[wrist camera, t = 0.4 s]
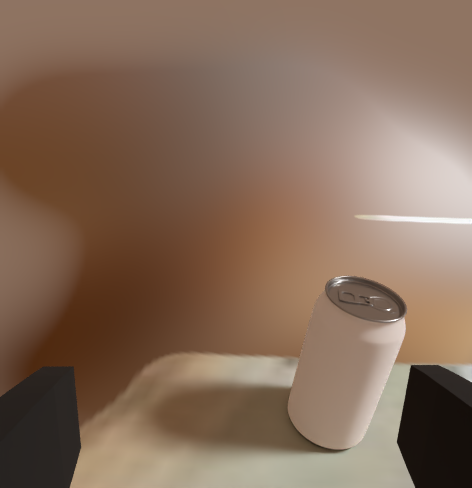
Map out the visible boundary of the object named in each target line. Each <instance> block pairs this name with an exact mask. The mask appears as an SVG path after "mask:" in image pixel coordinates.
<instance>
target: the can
mask: <svg viewBox="0 0 472 488" xmlns="http://www.w3.org/2000/svg"><path fill="white" fill-rule="evenodd" d="M406 313H407V307H406V304H405V302H404V301H403V299H402V298H401V297H400V296H399V295H398V294H396V293H395V292H394V291H392V290H391V289H390V288H388V287H386V286H384V285H382V284H380V283H378V282H375V281H372V280H369V279H366V278H361V277H356V276H339V277H335V278H333V279H331V280H329V281H328V282H327V284H326V286H325V290H324V291H323V292H322V294H320V295H319V297H318V298H317V300H316V302H315V305H314V308H313V311H312V315H311V319H310V322H309V325H308V330H307V333H306V337H305V340H304V344H303V347H302V351H301V355H300V358H299V362H298V366H297V369H296V373H295V377H294V381H293V384H292V388H291V392H290V396H289V400H288V414H289V417H290V419H291V421H292V423H293V425H294V426H295V427H296V429H297V430H298V431H299V432H300V433H301V434H302V435H303V436H304V437H305V438H306V439H308V440H309V441H310V442H312V443H314V444H316V445H318V446H321V447H324V448H327V449H335V450H338V449H348V448H351V447H353V446H355V445H357V444H358V443H359V442H360V441H361V440H362V439H363V437H364V435H365V433H366V431H367V429H368V426H369V424H370V421H371V419H372V416H373V414H374V412H375V409H376V407H377V404H378V402H379V399H380V397H381V394H382V392H383V389H384V387H385V384H386V382H387V379H388V377H389V374H390V372H391V369H392V367H393V364H394V362H395V359H396V357H397V354H398V352H399V349H400V346H401V344H402V341H403V338H404V335H405V331H406V326H405V320H404V316H405V315H406Z"/></svg>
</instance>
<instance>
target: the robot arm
mask: <svg viewBox="0 0 472 488" xmlns="http://www.w3.org/2000/svg"><path fill="white" fill-rule="evenodd" d="M75 389H76V388H75V378H74V367H42V368H41V369H39V370H38V371H36V372H34V373H33V374H31V375H30V376H29V377H27V378H26V379H24V380H23V381H22V382H20V383H19V384H18V385H16V386H15V387H14V388H12V389H11V390H9V391H8V392H6V393H5V394H4V395H2V396H1V397H0V488H70V484H71V481H72V478H73V474H74V471H75V467H76V464H77V460H78V456H79V453H80V449H81V442H80V432H79V421H78V410H77V399H76V390H75ZM397 444H398V446H399V449H400V451H401V454H402V456H403V459H404V461H405V464H406V467H407V469H408V471H409V474H410V476H411V478H412V481H413V483H414V485H415V488H472V382H470V381H468V380H466V379H464V378H463V377H461V376H459V375H457V374H455V373H453V372H451V371H449V370H447V369H445V368H443V367H441V366H439V365H411V368H410V373H409V379H408V384H407V390H406V395H405V401H404V406H403V411H402V417H401V422H400V428H399V433H398V438H397Z"/></svg>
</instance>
